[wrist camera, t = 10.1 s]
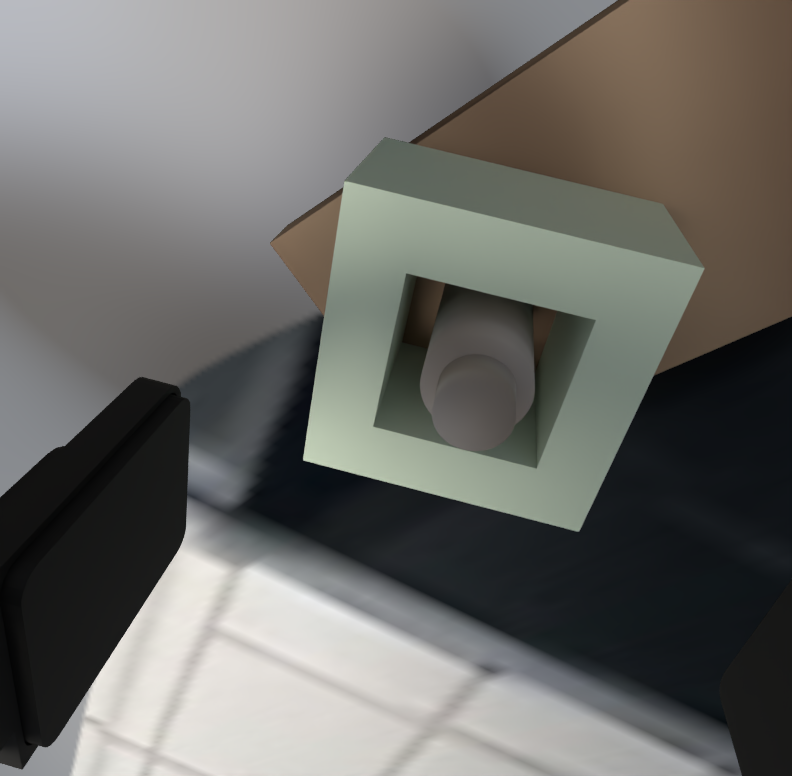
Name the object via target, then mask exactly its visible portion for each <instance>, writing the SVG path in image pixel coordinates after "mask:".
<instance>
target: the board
mask: <svg viewBox="0 0 792 776" xmlns="http://www.w3.org/2000/svg"><path fill="white" fill-rule="evenodd" d="M409 143H411V144H415V145H420V146H424V147H428V148H432V149H436V150H440V151H445V152H449V153H453V154H457V155H461V156H465V157H470V158H474V159H478V160H482V161H486V162H490V163H495V164H499V165H503V166H507V167H511V168H515V169H520V170H524V171H528V172H532V173H536V174H541V175H545V176H549V177H553V178H557V179H561V180H566V181H570V182H574V183H578V184H582V185H586V186H591V187H595V188H599V189H603V190H607V191H611V192H616V193H620V194H624V195H628V196H632V197H636V198H641V199H645V200H649V201H653V202H657V203H661V204H663V205H664V206H665V208H666V209H667V211H668V212H669V214H670V215H671V217H672V219H673V220H674V222H675V223H676V225H677V226H678V228H679V229H680V231H681V232H682V234H683V236H684V237H685V239H686V240H687V242H688V243H689V245H690V246H691V248H692V249H693V251H694V252H695V254H696V256H697V257H698V259H699V260H700V262H701V263H702V265H703V266H704V268H705V269H704V271H703V273H702V275H701V277H700V279H699V281H698V284H697V286H696V288H695V290H694V292H693V294H692V296H691V298H690V300H689V302H688V304H687V307H686V309H685V311H684V313H683V315H682V317H681V319H680V321H679V323H678V325H677V328H676V330H675V332H674V334H673V336H672V338H671V340H670V342H669V344H668V346H667V348H666V351H665V353H664V355H663V357H662V359H661V361H660V363H659V365H658V367H657V369H656V371H655V374H654V375H656V374H659V373H661V372H663V371H666V370H668V369H670V368H673V367H675V366H677V365H680V364H682V363H684V362H687V361H689V360H691V359H694V358H696V357H698V356H701V355H703V354H705V353H708V352H710V351H712V350H715V349H717V348H719V347H722V346H724V345H726V344H729V343H731V342H733V341H736V340H738V339H740V338H743V337H745V336H747V335H750V334H752V333H754V332H757V331H759V330H761V329H764V328H766V327H768V326H771V325H773V324H775V323H778V322H780V321H782V320H785V319H787V318H789V317H792V0H618V1H616V2H615V3H613V4H612V5H610V6H609V7H607V8H606V9H605V10H603V11H602V12H600V13H599V14H597V15H596V16H594V17H593V18H591V19H590V20H588V21H587V22H585V23H584V24H583V25H581V26H580V27H578V28H577V29H575V30H574V31H573V32H571V33H569V34H568V35H566V36H565V37H564V38H562V39H560V40H559V41H557V42H556V43H555V44H553V45H552V46H550V47H549V48H547V49H546V50H544V51H543V52H541V53H540V54H538V55H537V56H536V57H534V58H533V59H531V60H530V61H528V62H527V63H525V64H524V65H522V66H521V67H519V68H518V69H516V70H515V71H514V72H512V73H510V74H509V75H508V76H506V77H505V78H503V79H502V80H500V81H499V82H497V83H496V84H494V85H493V86H491V87H490V88H489V89H487V90H485V91H484V92H483V93H481V94H480V95H478V96H477V97H475V98H474V99H472V100H471V101H469V102H468V103H466V104H465V105H463V106H462V107H461V108H459V109H458V110H456V111H455V112H453V113H452V114H450V115H449V116H447V117H446V118H444V119H443V120H442V121H440V122H438V123H437V124H436V125H434V126H433V127H431V128H430V129H428V130H427V131H425V132H424V133H422V134H421V135H419V136H418V137H416V138H415V139H413V140H412V141H411V142H409ZM342 193H343V188H342V189H340V190H339V191H337V192H336V193H334V194H333V195H331V196H330V197H328V198H327V199H325V200H324V201H322V202H321V203H320V204H318V205H317V206H315V207H314V208H312V209H311V210H309V211H308V212H306V213H305V214H304V215H302V216H301V217H299V218H297V219H296V220H294V221H293V222H292V223H290V224H289V225H287V226H286V227H285V228H284V229H283V230H282V231H281V232H280V233H279V234H278V235H277V236H276V237H275V238H274V239H273V241H271V242H270V244H271V246H272V247H273V248H274V250H275V251H276V252H277V254H278V255H279V256H280V257H281V259H282V260H283V261H284V263H285V264H286V266H287V267H288V268H289V270H290V271H291V272H292V274H293V275H294V276H295V278H296V279H297V280H298V282H299V283H300V284H301V286H302V287H303V288H304V290H305V291H306V292H307V294H308V295H309V297H310V298H311V299H312V300H313V302H314V303H315V305H316V306H317V307H318V309H319V310H320V311H321V313H322V314H323V315H325V308H326V301H327V295H328V288H329V281H330V274H331V268H332V261H333V254H334V247H335V241H336V234H337V227H338V220H339V214H340V207H341V200H342ZM556 313H557V310H553V309H549V308H545V307H541V306H537V305H532V304H528V303H524V302H520V301H516V300H512V299H508V298H504V297H500V296H496V295H492V294H488V293H484V292H480V291H476V290H472V289H468V288H464V287H460V286H456V285H452V284H448V283H444V282H439V281H435V280H431V279H427V278H423V277H419V276H417V278H416V282H415V287H414V291H413V295H412V300H411V304H410V309H409V313H408V318H407V322H406V327H405V331H404V335H403V340H402V342H403V343H407V344H411V345H415V346H419V347H422V348H426V349H428V351H427V355H426V358H425V362H424V366H423V370H422V374H421V379H420V391H421V396H422V399H423V402H424V404H425V406H426V408H427V409H428V411H429V412H430V413H431V415H432V421H433V424H434V427H435V429H436V431H437V432H438V434H439V435H440V436H441V437H442V438H443V439H444V440H445V441H446V442H448V443H449V444H451V445H453V446H455V447H457V448H460V449H463V450H468V451H484V450H488V449H491V448H494V447H496V446H498V445H500V444H501V443H503V442H504V441H505V440H506V439H507V438H508V437H509V436H510V434H511V433H512V431H513V429H514V426H515V425H516V424H517V423H518V422H519V421H520V420H522V419H523V417H524V416H525V415H526V414H527V412H528V411H529V409H530V407H531V405H532V403H533V399H534V394H535V372H536V369H537V366H538V363H539V360H540V358H541V355H542V352H543V349H544V347H545V344H546V341H547V338H548V336H549V333H550V330H551V327H552V324H553V322H554V319H555V316H556Z"/></svg>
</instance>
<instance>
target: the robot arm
mask: <svg viewBox="0 0 792 776" xmlns="http://www.w3.org/2000/svg"><path fill="white" fill-rule="evenodd" d="M189 428H190V402H189V400H188V399H187V398H183V397H181V392H180V389H179V388H178V387H177V386H175V385H171V384H167V383H163V382H160V381H155V380H152V379H148V378H144V377H140V378H138V379H136V380H135V381H134V382H132V383H131V384H130V385H129V386H128V387H127V388H126V389H125V390H124V391H123V392H122V393H121V394H120V395H119V396H118V397H117V398H116V399H114V401H112V402H111V403H110V404H109V405H108V406H107V407H106V408H105V409H104V410H103V411H102V412H101V413H100V414H99V415H98V416H96V417H95V418H94V419H93V420H92V421H91V422H90V423H89V424H88V425H87V426H86V427H85V428H84V429H83V430H82V431H81V432H79V434H77V435H76V436H75V437H74V438H73V439H72V440H71V441H70V442H69V443H68V444H67V445H66V446H62V447H58V448H55V449H54V450H53V451H51V452H50V453H48V454H47V455H46V456H45V457H44V458H43V459H41V460H40V461H39V462H38V463H37V464H36V465H35V466H34V467H33V468H32V469H31V470H30V471H29V472H27V473H26V474H25V475H24V476H23V477H22V478H21V479H20V480H19V481H18V482H17V483H16V484H14V485H13V486H12V487H11V488H10V489H9V490H8V491H7V492H6V493H5V494H4V495H2V496H1V497H0V763H2V764H5V765H9V766H12V767H15V768H19V769H23V768H24V766H25V765H26V763H27V762H28V760H29V759H30V757H31V756H32V754H33V753H34V751H35V750H36V748H37V747H38V745H39V746H42V747H48V746H50V745H51V744H52V743H53V742H54V741H55V740H56V739H57V737H58V736H59V734H60V733H61V731H62V730H63V728H64V727H65V725H66V724H67V722H68V721H69V719H70V717H71V716H72V714H73V713H74V711H75V710H76V708H77V706H78V705H79V704H80V702H81V700H82V699H83V697H84V696H85V694H86V693H87V691H88V690H89V688H90V686H91V685H92V683H93V682H94V680H95V679H96V677H97V676H98V674H99V672H100V671H101V669H102V668H103V666H104V665H105V663H106V662H107V660H108V659H109V657H110V655H111V654H112V652H113V651H114V649H115V648H116V646H117V645H118V643H119V641H120V640H121V638H122V637H123V635H124V634H125V632H126V631H127V629H128V628H129V626H130V624H131V623H132V621H133V620H134V618H135V617H136V615H137V614H138V612H139V610H140V609H141V607H142V606H143V604H144V603H145V601H146V600H147V598H148V597H149V595H150V593H151V592H152V590H153V589H154V587H155V586H156V584H157V583H158V581H159V579H160V578H161V576H162V575H163V573H164V572H165V570H166V569H167V567H168V565H169V564H170V562H171V561H172V559H173V558H174V556H175V555H176V553H177V551H178V550H179V548H180V546H181V543H182V541H183V538H184V534H185V530H186V510H187V483H188V455H189ZM720 699H721V703H722V706H723V710H724V713H725V717H726V721H727V724H728V728H729V731H730V735H731V738H732V742H733V745H734V749H735V752H736V756H737V759H738V763H739V766H740V770H741V773H742V776H792V580H791V581H790V583H789V584H788V586H787V587H786V588H785V590H784V591H783V592H782V594H781V595H780V597H779V598H778V599H777V601H776V602H775V603H774V605H773V606H772V608H771V609H770V610H769V612H768V613H767V615H766V616H765V617H764V619H763V620H762V621H761V623H760V624H759V626H758V627H757V628H756V630H755V631H754V632H753V634H752V635H751V637H750V638H749V639H748V641H747V642H746V644H745V645H744V646H743V648H742V649H741V650H740V652H739V653H738V655H737V656H736V657H735V659H734V660H733V661H732V663H731V664H730V666H729V667H728V668H727V670H726V671H725V672H724V674H723V676H722V679H721V682H720Z"/></svg>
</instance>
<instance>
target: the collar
mask: <svg viewBox="0 0 792 776" xmlns="http://www.w3.org/2000/svg"><path fill="white" fill-rule="evenodd" d="M704 269H705V268H704V266H703V265H702V263H701V262H700V260H699V259H698V257H697V256H696V254H695V252H694V251H693V249H692V248H691V246H690V245H689V243H688V242H687V240H686V239H685V237H684V236H683V234H682V232H681V231H680V229H679V228H678V226H677V225H676V223H675V222H674V220H673V219H672V217H671V215H670V214H669V212H668V211H667V209H666V208H665V206H664V205H663V204H661V203H657V202H653V201H649V200H645V199H641V198H636V197H632V196H628V195H624V194H620V193H616V192H611V191H607V190H603V189H599V188H595V187H591V186H586V185H582V184H578V183H574V182H570V181H566V180H561V179H557V178H553V177H549V176H545V175H541V174H536V173H532V172H528V171H524V170H520V169H515V168H511V167H507V166H503V165H499V164H495V163H490V162H486V161H482V160H478V159H474V158H470V157H465V156H461V155H457V154H453V153H449V152H445V151H440V150H436V149H432V148H428V147H424V146H420V145H415V144H411V143H407V142H403V141H399V140H395V139H390V138H386V137H385V138H384V139H383V140H382V141H381V142H380V143H379V144H378V145H377V146H376V147H375V148H374V149H373V150H372V152H371V153H370V154H369V155H368V156H367V157H366V158H365V159H364V160H363V161H362V162H361V163H360V164H359V166H358V167H357V168H356V169H355V170H354V171H353V172H352V173H351V174H350V175H349V177H347V179H346V180H345V181H344V187H343V193H342V200H341V207H340V214H339V220H338V227H337V234H336V241H335V247H334V254H333V261H332V268H331V274H330V281H329V288H328V295H327V301H326V308H325V315H324V322H323V328H322V335H321V342H320V349H319V356H318V362H317V369H316V376H315V383H314V389H313V396H312V403H311V410H310V416H309V423H308V430H307V437H306V443H305V450H304V457H303V460H304V461H308V462H312V463H316V464H319V465H323V466H327V467H331V468H335V469H339V470H343V471H346V472H350V473H354V474H358V475H362V476H366V477H369V478H373V479H377V480H381V481H385V482H389V483H393V484H396V485H400V486H404V487H408V488H412V489H416V490H420V491H423V492H427V493H431V494H435V495H439V496H443V497H446V498H450V499H454V500H458V501H462V502H466V503H470V504H473V505H477V506H481V507H485V508H489V509H493V510H496V511H500V512H504V513H508V514H512V515H516V516H520V517H523V518H527V519H531V520H535V521H539V522H543V523H547V524H550V525H554V526H558V527H562V528H566V529H570V530H573V531H577V532H579V531H580V529H581V526H582V524H583V522H584V520H585V518H586V516H587V514H588V512H589V510H590V508H591V506H592V503H593V501H594V499H595V497H596V495H597V493H598V491H599V489H600V487H601V485H602V482H603V480H604V478H605V476H606V474H607V472H608V470H609V468H610V466H611V464H612V462H613V459H614V457H615V455H616V453H617V451H618V449H619V447H620V445H621V443H622V441H623V439H624V436H625V434H626V432H627V430H628V428H629V426H630V424H631V422H632V420H633V418H634V415H635V413H636V411H637V409H638V407H639V405H640V403H641V401H642V399H643V397H644V395H645V392H646V390H647V388H648V386H649V384H650V382H651V380H652V378H653V376H654V374H655V371H656V369H657V367H658V365H659V363H660V361H661V359H662V357H663V355H664V353H665V351H666V348H667V346H668V344H669V342H670V340H671V338H672V336H673V334H674V332H675V330H676V328H677V325H678V323H679V321H680V319H681V317H682V315H683V313H684V311H685V309H686V307H687V304H688V302H689V300H690V298H691V296H692V294H693V292H694V290H695V288H696V286H697V284H698V281H699V279H700V277H701V275H702V273H703V271H704ZM417 276H419V277H423V278H427V279H431V280H435V281H439V282H444V283H448V284H452V285H456V286H460V287H464V288H468V289H472V290H476V291H480V292H484V293H488V294H492V295H496V296H500V297H504V298H508V299H512V300H516V301H520V302H524V303H528V304H532V305H537V306H541V307H545V308H549V309H553V310H557V313H556V316H555V319H554V322H553V324H552V327H551V330H550V333H549V336H548V338H547V341H546V344H545V347H544V349H543V352H542V355H541V358H540V360H539V363H538V366H537V369H536V372H535V394H534V399H533V403H532V405H531V407H530V409H529V411H528V412H527V414H526V415H525V416H524V417H523V419H522V420H520V421H519V422H518V423H517V424H516V425H515V426H514V429H513V431H512V433H511V434H510V436H509V437H508V438H507V439H506V440H505V441H504V442H503V443H501V444H500V445H498V446H496V447H494V448H491V449H488V450H484V451H468V450H463V449H460V448H457V447H455V446H453V445H451V444H449V443H448V442H446V441H445V440H444V439H443V438H442V437H441V436H440V435H439V434H438V432H437V431H436V429H435V427H434V424H433V421H432V415H431V413H430V412H429V411H428V409H427V408H426V406H425V404H424V402H423V399H422V396H421V391H420V379H421V374H422V370H423V366H424V362H425V358H426V355H427V351H428V349H426V348H422V347H419V346H415V345H411V344H407V343H403V342H402V340H403V335H404V331H405V327H406V322H407V318H408V313H409V309H410V304H411V300H412V295H413V291H414V287H415V282H416V278H417Z"/></svg>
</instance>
